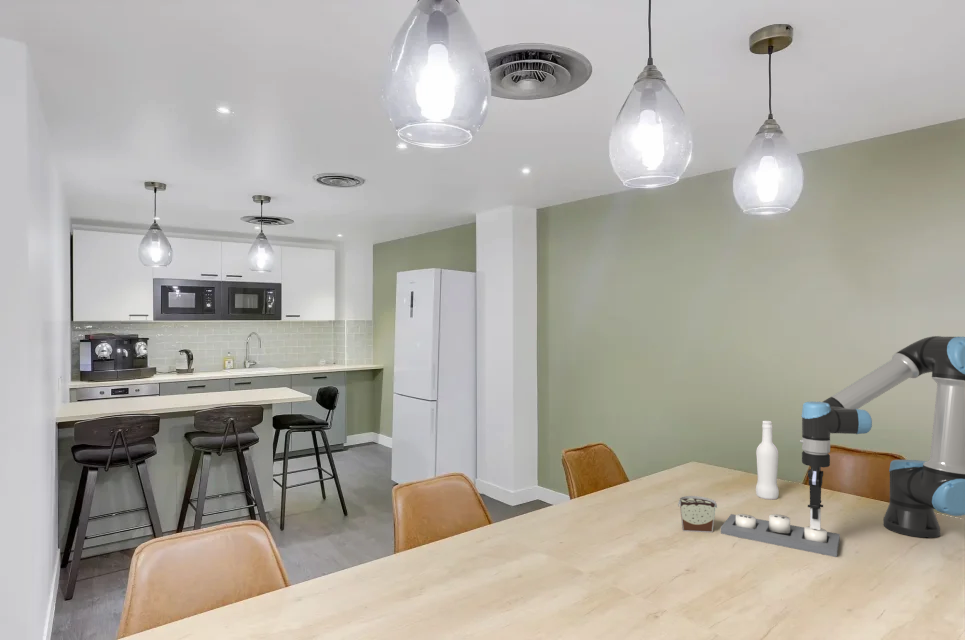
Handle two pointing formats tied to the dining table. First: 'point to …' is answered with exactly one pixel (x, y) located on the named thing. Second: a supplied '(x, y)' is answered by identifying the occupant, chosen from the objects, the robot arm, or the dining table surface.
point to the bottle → (767, 464)
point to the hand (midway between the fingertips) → (815, 528)
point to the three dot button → (746, 521)
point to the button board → (782, 537)
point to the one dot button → (815, 534)
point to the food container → (697, 513)
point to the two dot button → (779, 523)
